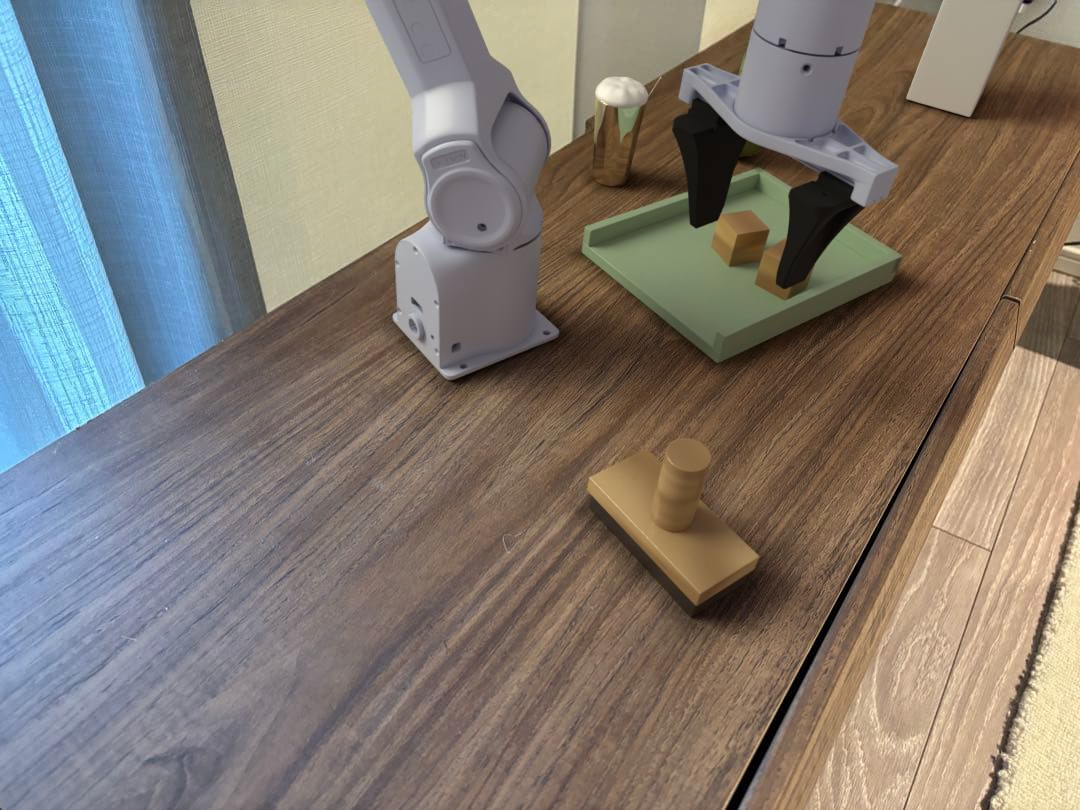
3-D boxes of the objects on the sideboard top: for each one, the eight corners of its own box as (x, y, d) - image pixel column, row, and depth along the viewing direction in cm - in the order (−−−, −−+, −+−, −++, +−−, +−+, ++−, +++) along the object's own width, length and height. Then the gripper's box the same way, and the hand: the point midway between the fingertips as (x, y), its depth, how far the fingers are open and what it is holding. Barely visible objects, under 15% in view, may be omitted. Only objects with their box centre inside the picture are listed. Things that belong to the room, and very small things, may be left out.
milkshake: (640, 195, 79) (658, 87, 72) (581, 185, 79) (594, 77, 72) (645, 171, 82) (664, 66, 75) (589, 162, 82) (602, 56, 75)
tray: (717, 363, 62) (725, 337, 61) (581, 252, 71) (584, 226, 70) (892, 281, 72) (903, 255, 70) (752, 191, 81) (759, 167, 79)
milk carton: (969, 119, 96) (1053, -72, 82) (904, 100, 98) (976, -88, 85) (980, 96, 100) (1061, -88, 87) (918, 79, 102) (988, -103, 89)
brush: (690, 622, 47) (721, 533, 41) (583, 506, 52) (599, 415, 47) (748, 585, 49) (785, 496, 44) (639, 477, 54) (660, 386, 49)
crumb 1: (728, 266, 70) (737, 234, 68) (710, 246, 72) (718, 214, 70) (760, 261, 71) (770, 229, 68) (742, 241, 73) (750, 209, 70)
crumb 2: (786, 302, 67) (797, 269, 65) (754, 284, 68) (763, 251, 66) (807, 286, 68) (818, 254, 66) (775, 269, 70) (785, 237, 68)
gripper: (968, 72, 44) (876, 290, 54) (758, -21, 52) (710, 183, 61) (881, 101, 41) (800, 328, 50) (671, -3, 49) (635, 210, 58)
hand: (745, 251), depth 56 cm, fingers open, 7 cm apart
